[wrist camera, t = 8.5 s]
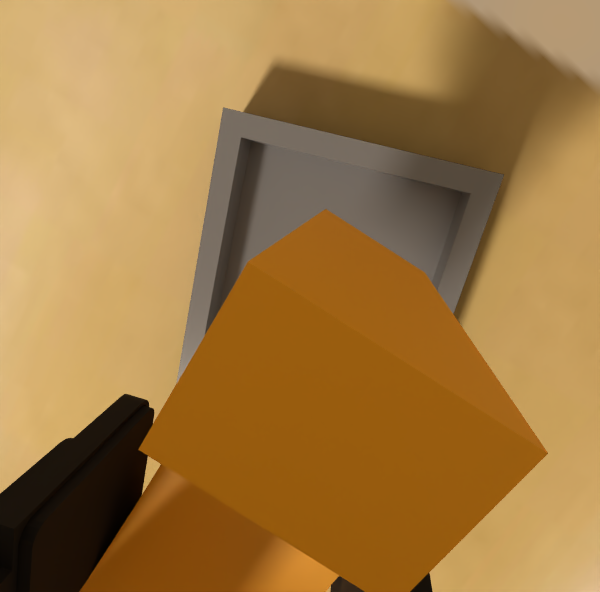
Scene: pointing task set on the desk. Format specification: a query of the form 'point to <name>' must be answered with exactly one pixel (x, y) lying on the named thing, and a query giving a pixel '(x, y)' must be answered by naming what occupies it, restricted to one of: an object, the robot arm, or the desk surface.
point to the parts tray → (331, 206)
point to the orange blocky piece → (321, 433)
